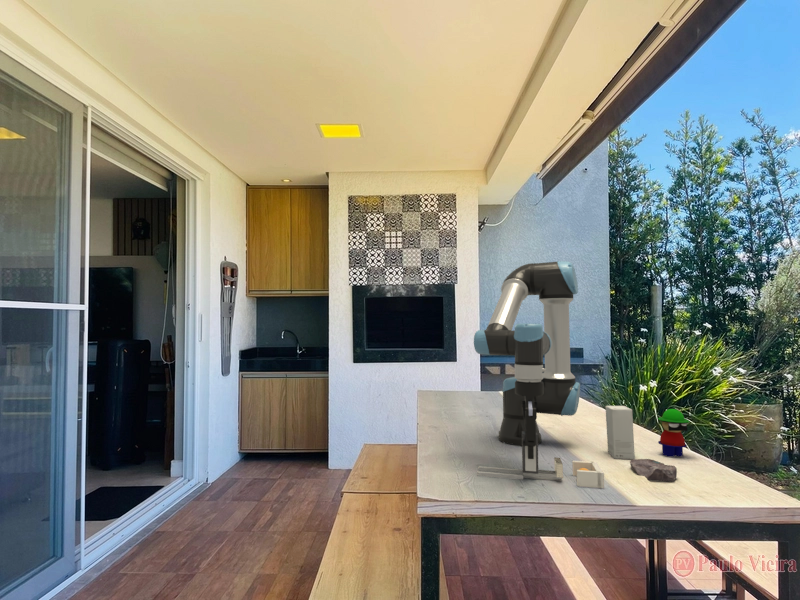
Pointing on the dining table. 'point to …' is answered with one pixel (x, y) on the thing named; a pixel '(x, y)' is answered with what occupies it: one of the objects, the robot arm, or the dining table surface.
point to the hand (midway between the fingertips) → (530, 467)
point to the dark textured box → (538, 473)
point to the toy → (673, 433)
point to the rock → (654, 470)
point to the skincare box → (620, 432)
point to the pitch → (500, 475)
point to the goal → (588, 474)
